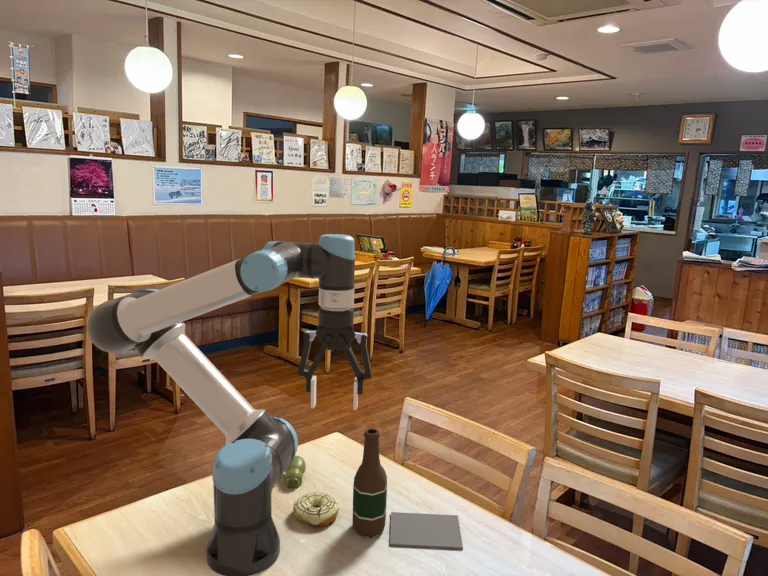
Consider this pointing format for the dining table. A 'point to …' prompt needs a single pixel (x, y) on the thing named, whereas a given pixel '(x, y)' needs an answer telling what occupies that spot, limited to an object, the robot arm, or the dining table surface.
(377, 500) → the beer bottle
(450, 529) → the mat
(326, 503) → the decorated donut
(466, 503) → the dining table surface
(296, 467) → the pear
